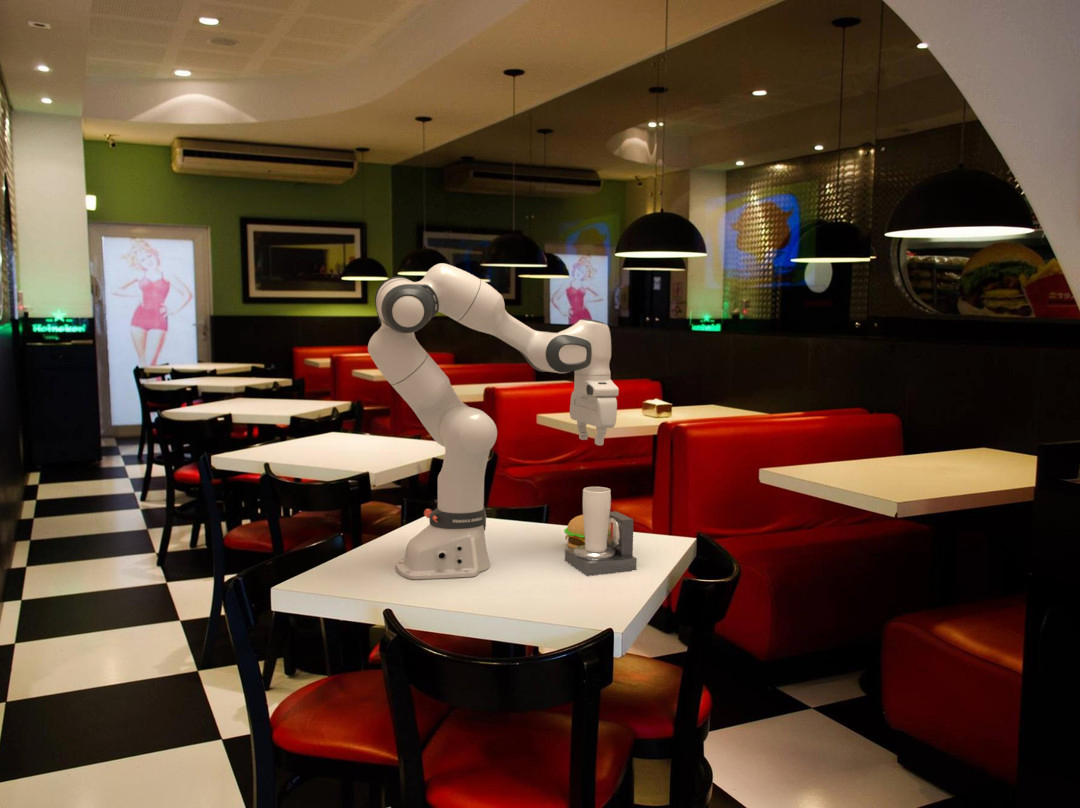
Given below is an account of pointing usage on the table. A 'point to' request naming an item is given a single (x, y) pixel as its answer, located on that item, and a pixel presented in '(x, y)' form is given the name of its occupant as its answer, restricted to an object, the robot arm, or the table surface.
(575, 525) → the hamburger
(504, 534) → the table surface
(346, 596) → the table surface
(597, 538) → the drinking glass
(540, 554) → the table surface
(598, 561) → the dial scale
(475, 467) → the robot arm
